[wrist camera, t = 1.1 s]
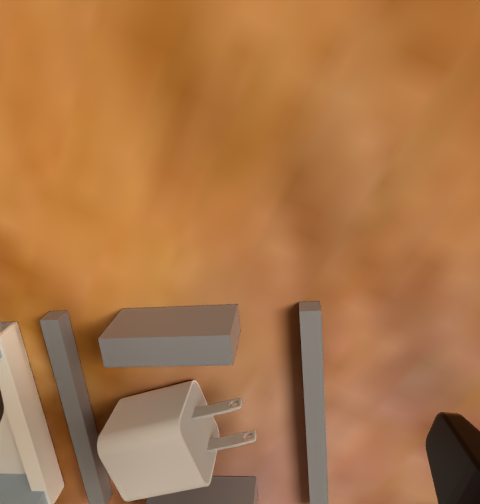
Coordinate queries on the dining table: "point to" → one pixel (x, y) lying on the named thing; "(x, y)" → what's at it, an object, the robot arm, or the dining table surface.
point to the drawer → (24, 430)
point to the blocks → (180, 354)
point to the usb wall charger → (165, 441)
